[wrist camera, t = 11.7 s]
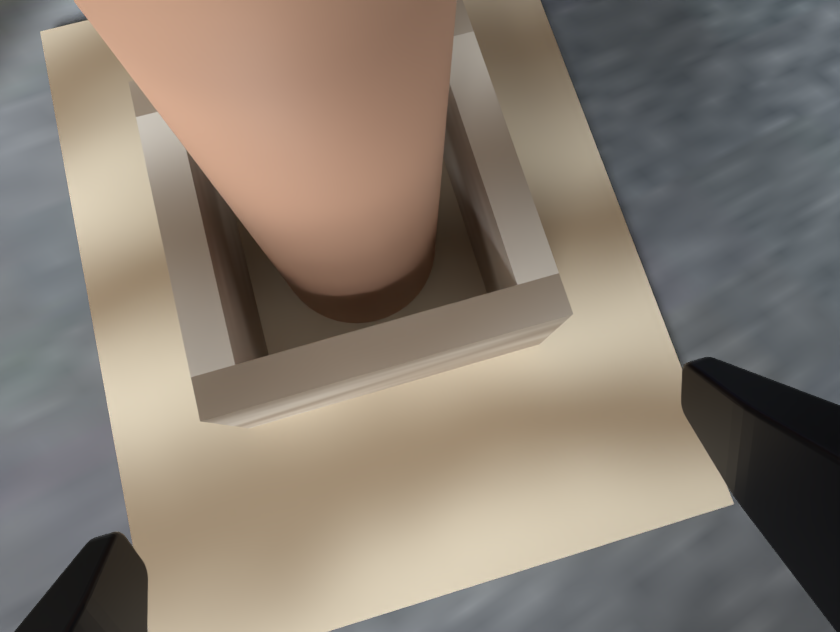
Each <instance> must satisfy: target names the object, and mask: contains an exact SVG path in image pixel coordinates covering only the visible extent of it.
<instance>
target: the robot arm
mask: <svg viewBox="0 0 840 632" xmlns="http://www.w3.org/2000/svg"><path fill="white" fill-rule="evenodd" d="M681 406H682V410H683V413H684V415H685V417H686V419H687V420H688V422H689V424H690V425H691V427H692V429H693V430H694V432H695V433H696V435H697V437H698V438H699V440H700V442H701V443H702V445H703V447H704V448H705V450H706V452H707V453H708V455H709V457H710V458H711V460H712V462H713V463H714V465H715V467H716V468H717V470H718V472H719V473H720V475H721V477H722V478H723V480H724V482H725V483H726V485H727V486H728V488H729V489H730V491H731V493H732V494H733V496H734V497H735V498H736V500H737V501H738V503H739V504H740V505H741V507H742V508H743V509H744V511H745V512H746V513H747V515H748V516H749V517H750V519H751V520H752V521H753V523H754V524H755V525H756V527H757V528H758V529H759V530H760V532H761V533H762V534H763V536H764V537H765V538H766V540H767V541H768V542H769V544H770V545H771V546H772V548H773V549H774V550H775V551H776V553H777V554H778V555H779V557H780V558H781V559H782V561H783V562H784V563H785V565H786V566H787V567H788V569H789V570H790V571H791V572H792V574H793V575H794V576H795V578H796V579H797V580H798V582H799V583H800V584H801V586H802V587H803V588H804V590H805V591H806V592H807V593H808V595H809V596H810V597H811V599H812V600H813V601H814V603H815V604H816V605H817V607H818V608H819V609H820V611H821V612H822V613H823V614H824V616H825V617H826V618H827V620H828V621H829V622H830V624H831V625H832V626H833V628H834V629H835V630H836V632H840V405H838V404H835V403H832V402H830V401H827V400H824V399H822V398H819V397H816V396H814V395H811V394H808V393H806V392H803V391H800V390H798V389H795V388H792V387H790V386H787V385H784V384H782V383H779V382H776V381H774V380H771V379H768V378H766V377H763V376H761V375H758V374H755V373H753V372H750V371H747V370H745V369H742V368H739V367H737V366H734V365H731V364H729V363H726V362H723V361H721V360H718V359H715V358H712V357H704V358H701V359H697V360H694V361H691V362H688V363H686V364H685V365H684V366H683V368H682V383H681ZM147 622H148V573H147V569H146V566H145V564H144V562H143V560H142V559H141V557H140V556H139V555H138V553H137V552H136V551H135V549H134V548H133V546H132V545H131V544H130V542H129V541H128V539H127V538H126V537H125V536H124V534H122V533H120V532H112V533H109V534H105V535H102V536H98V537H95V538H93V539H91V540H90V541H89V542H88V543H87V544H86V545H85V546H84V547H83V548H82V550H81V551H80V552H79V553H78V555H77V556H76V557H75V558H74V559H73V561H72V562H71V563H70V564H69V565H68V567H67V568H66V569H65V570H64V572H63V573H62V574H61V575H60V576H59V578H58V579H57V580H56V581H55V583H54V584H53V585H52V586H51V587H50V589H49V590H48V591H47V592H46V594H45V595H44V596H43V597H42V598H41V600H40V601H39V602H38V603H37V605H36V606H35V607H34V608H33V609H32V611H31V612H30V613H29V614H28V616H27V617H26V618H25V619H24V620H23V622H22V623H21V624H20V625H19V627H18V628H17V629H16V630H15V631H14V632H147Z"/></svg>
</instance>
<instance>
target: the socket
mask: <svg viewBox="0 0 840 632" xmlns="http://www.w3.org/2000/svg"><path fill="white" fill-rule="evenodd" d="M40 33H41V39H42V44H43V50H44V55H45V61H46V66H47V72H48V77H49V83H50V89H51V94H52V100H53V105H54V111H55V116H56V122H57V127H58V133H59V138H60V144H61V149H62V155H63V161H64V166H65V172H66V177H67V183H68V188H69V194H70V199H71V205H72V210H73V216H74V222H75V227H76V233H77V238H78V244H79V249H80V255H81V260H82V266H83V271H84V277H85V283H86V288H87V294H88V299H89V305H90V310H91V316H92V321H93V327H94V332H95V338H96V344H97V349H98V355H99V360H100V366H101V371H102V377H103V382H104V388H105V393H106V399H107V405H108V410H109V416H110V421H111V427H112V432H113V438H114V443H115V449H116V454H117V460H118V466H119V471H120V477H121V482H122V488H123V493H124V499H125V504H126V510H127V515H128V521H129V526H130V532H131V538H132V543H133V548H134V549H135V551H136V552H137V553H138V555H139V556H140V557H141V559H142V560H143V562H144V564H145V566H146V569H147V573H148V622H147V626H148V632H328V631H331V630H334V629H337V628H340V627H344V626H347V625H350V624H353V623H356V622H359V621H363V620H366V619H369V618H372V617H375V616H379V615H382V614H385V613H388V612H391V611H395V610H398V609H401V608H404V607H407V606H410V605H414V604H417V603H420V602H423V601H426V600H430V599H433V598H436V597H439V596H442V595H446V594H449V593H452V592H455V591H458V590H462V589H465V588H468V587H471V586H474V585H477V584H481V583H484V582H487V581H490V580H493V579H497V578H500V577H503V576H506V575H509V574H513V573H516V572H519V571H522V570H525V569H528V568H532V567H535V566H538V565H541V564H544V563H548V562H551V561H554V560H557V559H560V558H564V557H567V556H570V555H573V554H576V553H579V552H583V551H586V550H589V549H592V548H595V547H599V546H602V545H605V544H608V543H611V542H615V541H618V540H621V539H624V538H627V537H631V536H634V535H637V534H640V533H643V532H646V531H650V530H653V529H656V528H659V527H662V526H666V525H669V524H672V523H675V522H678V521H682V520H685V519H688V518H691V517H694V516H697V515H701V514H704V513H707V512H710V511H713V510H717V509H720V508H723V507H726V506H729V505H733V504H734V503H733V500H732V498H731V495H730V493H729V490H728V487H727V485H726V483H725V482H724V480H723V478H722V477H721V475H720V473H719V472H718V470H717V468H716V467H715V465H714V463H713V462H712V460H711V458H710V457H709V455H708V453H707V452H706V450H705V448H704V447H703V445H702V443H701V442H700V440H699V438H698V437H697V435H696V433H695V432H694V430H693V429H692V427H691V425H690V424H689V422H688V420H687V419H686V417H685V415H684V413H683V410H682V406H681V383H682V368H681V365H680V362H679V360H678V357H677V355H676V352H675V349H674V347H673V344H672V342H671V339H670V336H669V334H668V331H667V329H666V326H665V323H664V321H663V318H662V316H661V313H660V310H659V308H658V305H657V303H656V300H655V297H654V295H653V292H652V290H651V287H650V284H649V282H648V279H647V277H646V274H645V271H644V269H643V266H642V264H641V261H640V258H639V256H638V253H637V251H636V248H635V245H634V243H633V240H632V238H631V235H630V232H629V230H628V227H627V224H626V222H625V219H624V217H623V214H622V211H621V209H620V206H619V204H618V201H617V198H616V196H615V193H614V191H613V188H612V185H611V183H610V180H609V178H608V175H607V172H606V170H605V167H604V165H603V162H602V159H601V157H600V154H599V152H598V149H597V146H596V144H595V141H594V139H593V136H592V133H591V131H590V128H589V126H588V123H587V120H586V118H585V115H584V113H583V110H582V107H581V105H580V102H579V100H578V97H577V94H576V92H575V89H574V87H573V84H572V81H571V79H570V76H569V74H568V71H567V68H566V66H565V63H564V60H563V58H562V55H561V53H560V50H559V47H558V45H557V42H556V40H555V37H554V34H553V32H552V29H551V27H550V24H549V21H548V19H547V16H546V14H545V11H544V8H543V6H542V3H541V1H540V0H457V4H456V16H455V27H454V38H453V50H452V61H451V73H450V84H449V96H448V107H447V118H446V130H445V141H444V153H443V164H442V176H441V187H440V198H439V210H438V221H437V233H436V244H435V256H434V262H433V267H432V270H431V273H430V276H429V278H428V280H427V282H426V284H425V285H424V287H423V288H422V290H421V291H420V293H419V294H418V295H417V296H416V297H415V298H414V300H413V301H411V302H410V303H409V304H408V305H407V306H406V307H404V308H403V309H401V310H400V311H398V312H397V313H395V314H393V315H391V316H389V317H386V318H383V319H380V320H377V321H372V322H367V323H346V322H341V321H336V320H333V319H330V318H327V317H325V316H323V315H321V314H318V313H317V312H315V311H314V310H312V309H311V308H309V307H308V306H307V305H306V304H305V303H303V302H302V301H301V300H300V298H299V297H298V296H297V295H296V294H295V293H294V291H293V290H292V289H291V287H290V286H289V285H288V283H287V282H286V281H285V279H284V278H283V277H282V275H281V274H280V273H279V271H278V270H277V269H276V267H275V266H274V265H273V263H272V262H271V261H270V260H269V258H268V257H267V256H266V254H265V253H264V252H263V250H262V249H261V248H260V246H259V245H258V244H257V242H256V241H255V240H254V238H253V237H252V236H251V234H250V233H249V232H248V230H247V229H246V228H245V226H244V225H243V224H242V223H241V221H240V220H239V219H238V217H237V216H236V215H235V213H234V212H233V211H232V209H231V208H230V207H229V205H228V204H227V203H226V201H225V200H224V199H223V197H222V196H221V195H220V193H219V192H218V191H217V189H216V188H215V187H214V185H213V184H212V183H211V182H210V180H209V179H208V178H207V176H206V175H205V174H204V172H203V171H202V170H201V168H200V167H199V166H198V164H197V163H196V162H195V160H194V159H193V158H192V156H191V155H190V154H189V152H188V151H187V150H186V148H185V147H184V146H183V145H182V143H181V142H180V141H179V139H178V138H177V137H176V135H175V134H174V133H173V131H172V130H171V129H170V127H169V126H168V125H167V123H166V122H165V121H164V119H163V118H162V117H161V115H160V114H159V113H158V111H157V110H156V109H155V108H154V106H153V105H152V104H151V102H150V101H149V100H148V98H147V97H146V96H145V94H144V93H143V92H142V90H141V89H140V88H139V86H138V85H137V84H136V82H135V81H134V80H133V78H132V77H131V76H130V74H129V73H128V72H127V71H126V69H125V68H124V67H123V65H122V64H121V63H120V61H119V60H118V59H117V57H116V56H115V55H114V53H113V52H112V51H111V49H110V48H109V47H108V45H107V44H106V43H105V41H104V40H103V39H102V37H101V36H100V35H99V34H98V32H97V31H96V30H95V28H94V27H93V26H92V24H91V23H90V22H89V20H86V21H82V22H78V23H73V24H69V25H65V26H61V27H57V28H53V29H49V30H45V31H41V32H40Z"/></svg>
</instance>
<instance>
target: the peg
mask: <svg viewBox="0 0 840 632" xmlns="http://www.w3.org/2000/svg"><path fill="white" fill-rule="evenodd" d="M74 1H75V3H76V4H77V6H78V7H79V8H80V10H81V11H82V12H83V14H84V15H85V16H86V18H87V19H88V20H89V22H90V23H91V24H92V26H93V27H94V28H95V30H96V31H97V32H98V34H99V35H100V36H101V37H102V39H103V40H104V41H105V43H106V44H107V45H108V47H109V48H110V49H111V51H112V52H113V53H114V55H115V56H116V57H117V59H118V60H119V61H120V63H121V64H122V65H123V67H124V68H125V69H126V71H127V72H128V73H129V74H130V76H131V77H132V78H133V80H134V81H135V82H136V84H137V85H138V86H139V88H140V89H141V90H142V92H143V93H144V94H145V96H146V97H147V98H148V100H149V101H150V102H151V104H152V105H153V106H154V108H155V109H156V110H157V111H158V113H159V114H160V115H161V117H162V118H163V119H164V121H165V122H166V123H167V125H168V126H169V127H170V129H171V130H172V131H173V133H174V134H175V135H176V137H177V138H178V139H179V141H180V142H181V143H182V145H183V146H184V147H185V148H186V150H187V151H188V152H189V154H190V155H191V156H192V158H193V159H194V160H195V162H196V163H197V164H198V166H199V167H200V168H201V170H202V171H203V172H204V174H205V175H206V176H207V178H208V179H209V180H210V182H211V183H212V184H213V185H214V187H215V188H216V189H217V191H218V192H219V193H220V195H221V196H222V197H223V199H224V200H225V201H226V203H227V204H228V205H229V207H230V208H231V209H232V211H233V212H234V213H235V215H236V216H237V217H238V219H239V220H240V221H241V223H242V224H243V225H244V226H245V228H246V229H247V230H248V232H249V233H250V234H251V236H252V237H253V238H254V240H255V241H256V242H257V244H258V245H259V246H260V248H261V249H262V250H263V252H264V253H265V254H266V256H267V257H268V258H269V260H270V261H271V262H272V263H273V265H274V266H275V267H276V269H277V270H278V271H279V273H280V274H281V275H282V277H283V278H284V279H285V281H286V282H287V283H288V285H289V286H290V287H291V289H292V290H293V291H294V293H295V294H296V295H297V296H298V297H299V298H300V300H301V301H302V302H303V303H305V304H306V305H307V306H308V307H309V308H311V309H312V310H314V311H315V312H317V313H318V314H321V315H323V316H325V317H327V318H330V319H333V320H336V321H341V322H346V323H367V322H372V321H377V320H380V319H383V318H386V317H389V316H391V315H393V314H395V313H397V312H398V311H400V310H401V309H403V308H404V307H406V306H407V305H408V304H409V303H410V302H411V301H413V300H414V298H415V297H416V296H417V295H418V294H419V293H420V291H421V290H422V288H423V287H424V285H425V284H426V282H427V280H428V278H429V276H430V273H431V270H432V267H433V262H434V256H435V244H436V233H437V221H438V210H439V198H440V187H441V176H442V164H443V153H444V141H445V130H446V118H447V107H448V96H449V84H450V73H451V61H452V50H453V38H454V27H455V16H456V4H457V0H74Z"/></svg>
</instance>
